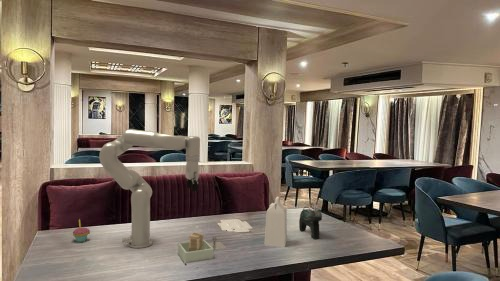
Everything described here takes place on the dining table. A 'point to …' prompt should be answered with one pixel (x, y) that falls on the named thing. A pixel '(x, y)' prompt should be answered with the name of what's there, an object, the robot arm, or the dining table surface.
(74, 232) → the cupcake
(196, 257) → the bin
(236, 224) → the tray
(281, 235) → the milk
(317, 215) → the dark grey animal figurine
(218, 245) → the stud plate
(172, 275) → the dining table surface
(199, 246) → the strut
